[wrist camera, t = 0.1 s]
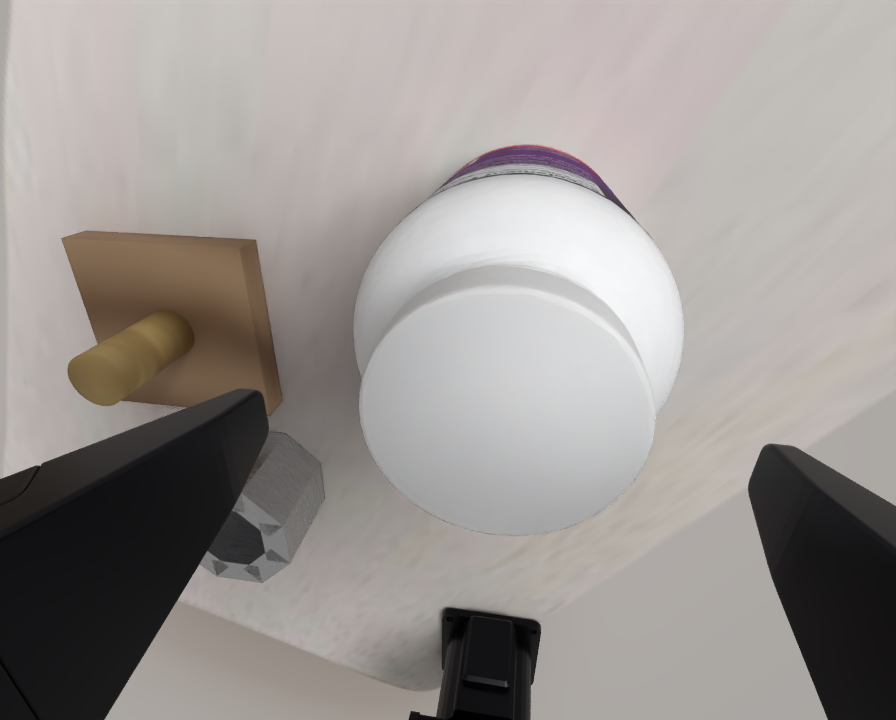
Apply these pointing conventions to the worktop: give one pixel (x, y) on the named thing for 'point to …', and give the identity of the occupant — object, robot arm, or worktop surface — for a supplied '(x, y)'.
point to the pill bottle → (516, 345)
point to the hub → (269, 513)
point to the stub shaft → (171, 319)
